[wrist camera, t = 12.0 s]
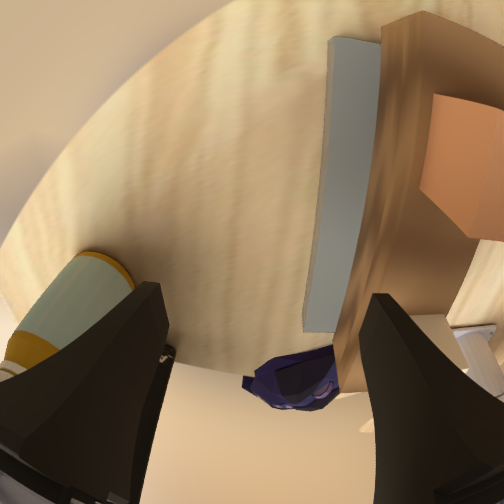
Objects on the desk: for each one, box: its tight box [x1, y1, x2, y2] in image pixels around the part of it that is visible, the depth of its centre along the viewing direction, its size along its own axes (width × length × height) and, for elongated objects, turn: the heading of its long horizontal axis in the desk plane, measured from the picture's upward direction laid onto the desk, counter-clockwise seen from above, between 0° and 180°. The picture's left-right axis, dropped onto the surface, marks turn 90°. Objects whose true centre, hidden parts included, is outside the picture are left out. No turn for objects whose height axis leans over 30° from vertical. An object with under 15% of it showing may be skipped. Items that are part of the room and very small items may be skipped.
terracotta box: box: [419, 94, 504, 242], centre depth 8 cm, size 4×4×4 cm
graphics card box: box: [95, 345, 176, 504], centre depth 19 cm, size 17×7×27 cm, turn 147°
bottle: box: [0, 252, 135, 382], centre depth 17 cm, size 7×7×15 cm
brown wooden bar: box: [333, 11, 504, 393], centre depth 14 cm, size 22×5×5 cm, turn 179°
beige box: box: [409, 314, 469, 374], centre depth 14 cm, size 4×4×4 cm
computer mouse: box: [242, 345, 340, 411], centre depth 27 cm, size 9×15×4 cm, turn 134°
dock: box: [302, 36, 381, 333], centre depth 17 cm, size 20×10×2 cm, turn 179°
